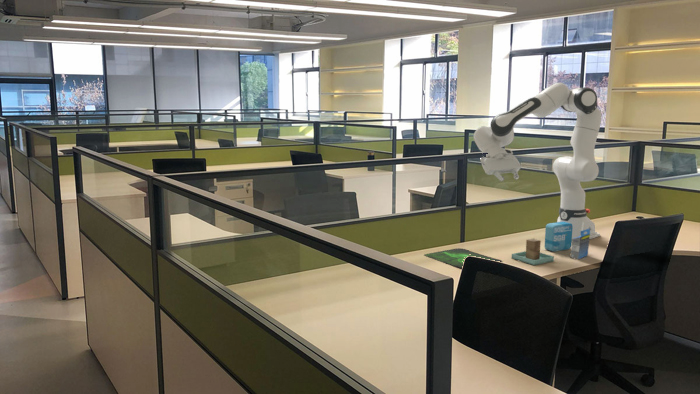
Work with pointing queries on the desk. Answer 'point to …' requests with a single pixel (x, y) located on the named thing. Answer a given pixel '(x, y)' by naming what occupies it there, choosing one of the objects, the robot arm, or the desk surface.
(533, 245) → the walnut block
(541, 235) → the desk surface
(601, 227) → the desk surface
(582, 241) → the label tape box
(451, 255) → the mouse mat
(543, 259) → the teal tray
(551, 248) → the blue soap box
